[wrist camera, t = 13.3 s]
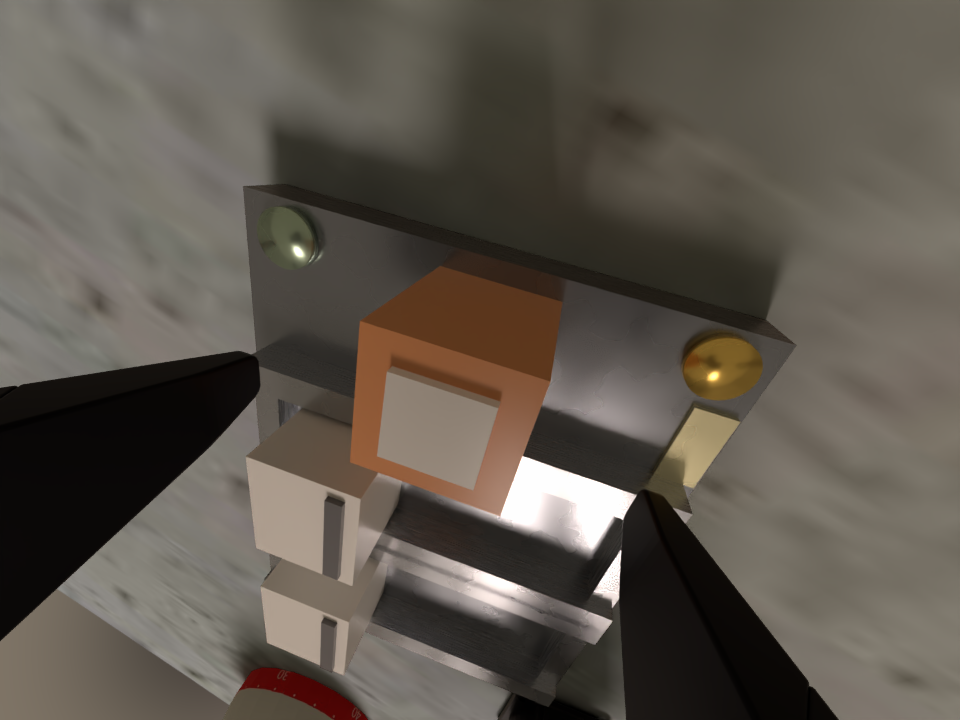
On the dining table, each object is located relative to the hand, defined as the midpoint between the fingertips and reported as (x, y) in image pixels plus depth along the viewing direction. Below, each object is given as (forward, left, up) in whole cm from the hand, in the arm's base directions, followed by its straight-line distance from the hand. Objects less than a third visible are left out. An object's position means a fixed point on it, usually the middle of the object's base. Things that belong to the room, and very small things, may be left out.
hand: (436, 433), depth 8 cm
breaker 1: (-7, +4, -5) cm, 9 cm away
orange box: (0, 0, -5) cm, 5 cm away
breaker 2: (-14, +4, -5) cm, 16 cm away
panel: (-8, 0, -7) cm, 10 cm away
